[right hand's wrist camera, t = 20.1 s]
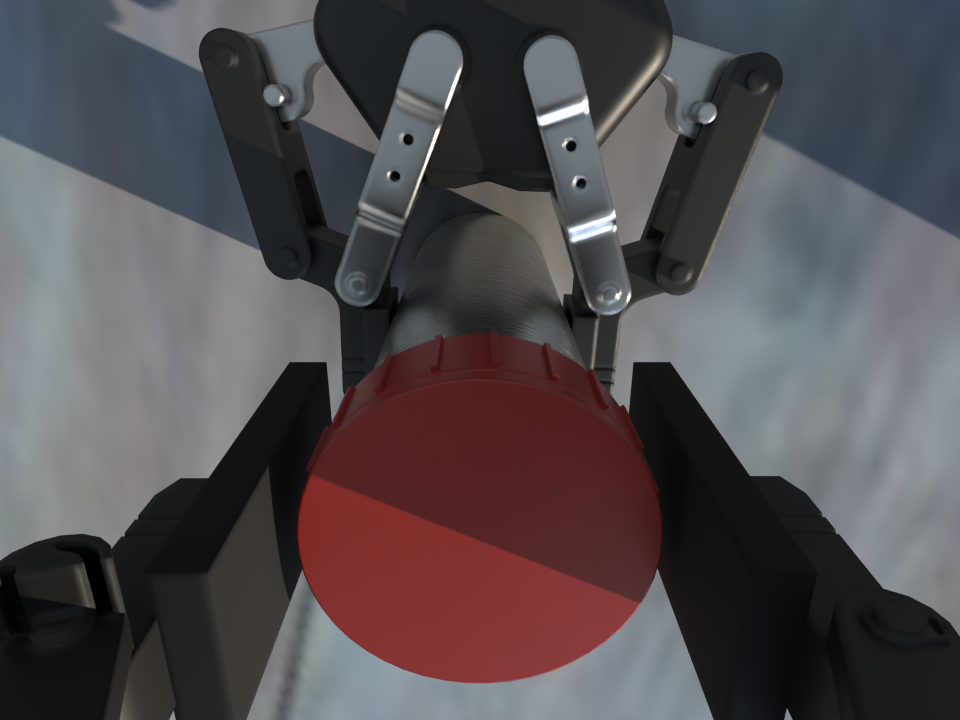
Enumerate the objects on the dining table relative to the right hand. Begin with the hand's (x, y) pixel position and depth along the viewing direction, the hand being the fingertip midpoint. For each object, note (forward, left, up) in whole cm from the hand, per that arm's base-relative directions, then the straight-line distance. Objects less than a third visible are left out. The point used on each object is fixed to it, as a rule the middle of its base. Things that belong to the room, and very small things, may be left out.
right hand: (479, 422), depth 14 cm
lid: (0, 0, +4) cm, 4 cm away
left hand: (-1, -3, -5) cm, 6 cm away
